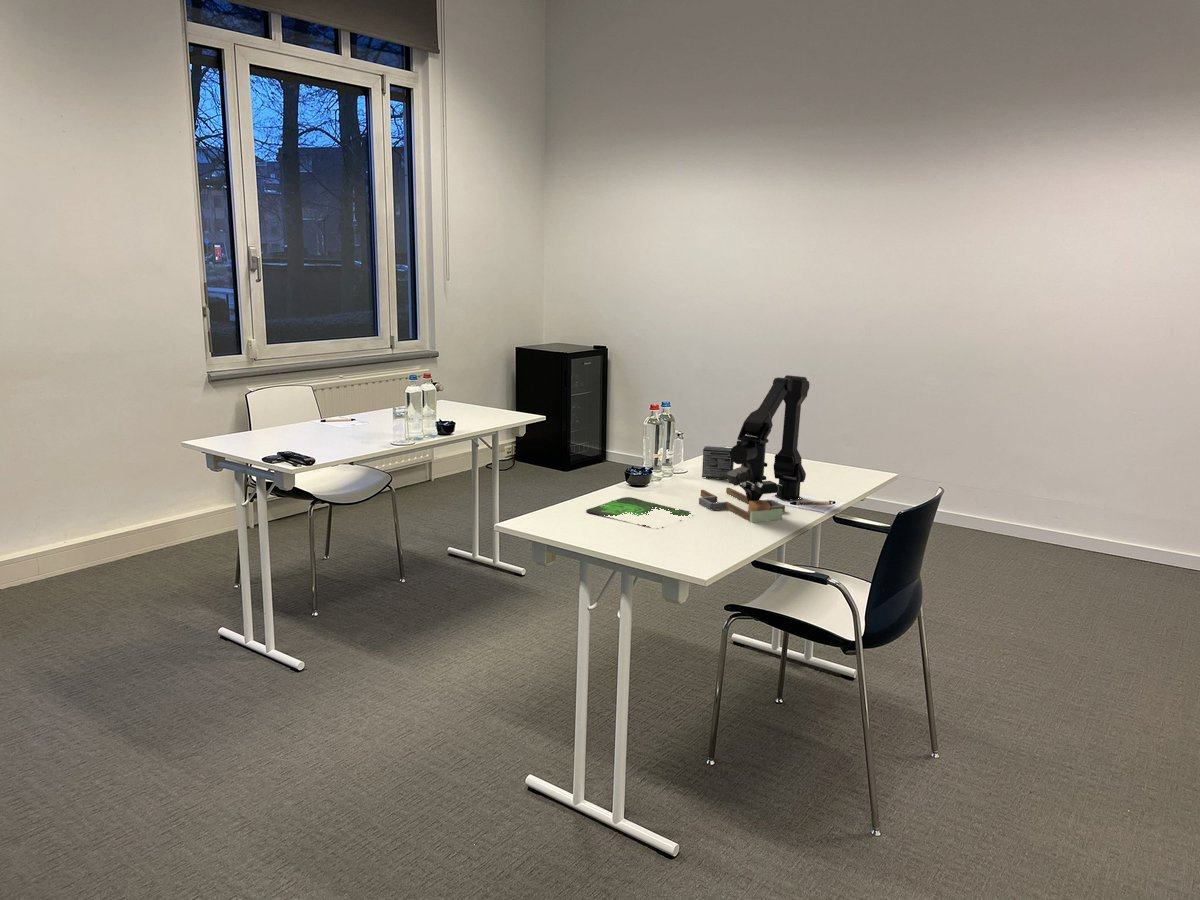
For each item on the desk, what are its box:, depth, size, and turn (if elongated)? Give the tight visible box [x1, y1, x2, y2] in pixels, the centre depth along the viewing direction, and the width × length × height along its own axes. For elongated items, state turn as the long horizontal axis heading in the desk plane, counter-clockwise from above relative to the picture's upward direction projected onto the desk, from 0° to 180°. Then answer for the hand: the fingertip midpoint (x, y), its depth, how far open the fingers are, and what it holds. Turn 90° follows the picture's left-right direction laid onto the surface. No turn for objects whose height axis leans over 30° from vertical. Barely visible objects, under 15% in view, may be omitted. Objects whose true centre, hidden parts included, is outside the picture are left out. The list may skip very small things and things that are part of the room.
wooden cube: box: [747, 499, 770, 513], centre depth 264 cm, size 4×4×4 cm
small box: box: [701, 445, 735, 480], centre depth 312 cm, size 11×6×10 cm, turn 76°
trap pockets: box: [698, 496, 786, 514], centre depth 274 cm, size 21×17×2 cm
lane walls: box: [700, 487, 773, 522], centre depth 275 cm, size 10×30×2 cm, turn 22°
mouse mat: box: [585, 496, 691, 527], centre depth 266 cm, size 27×22×1 cm
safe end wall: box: [749, 509, 784, 523], centre depth 261 cm, size 10×1×3 cm, turn 112°
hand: (751, 509), depth 268 cm, fingers closed
